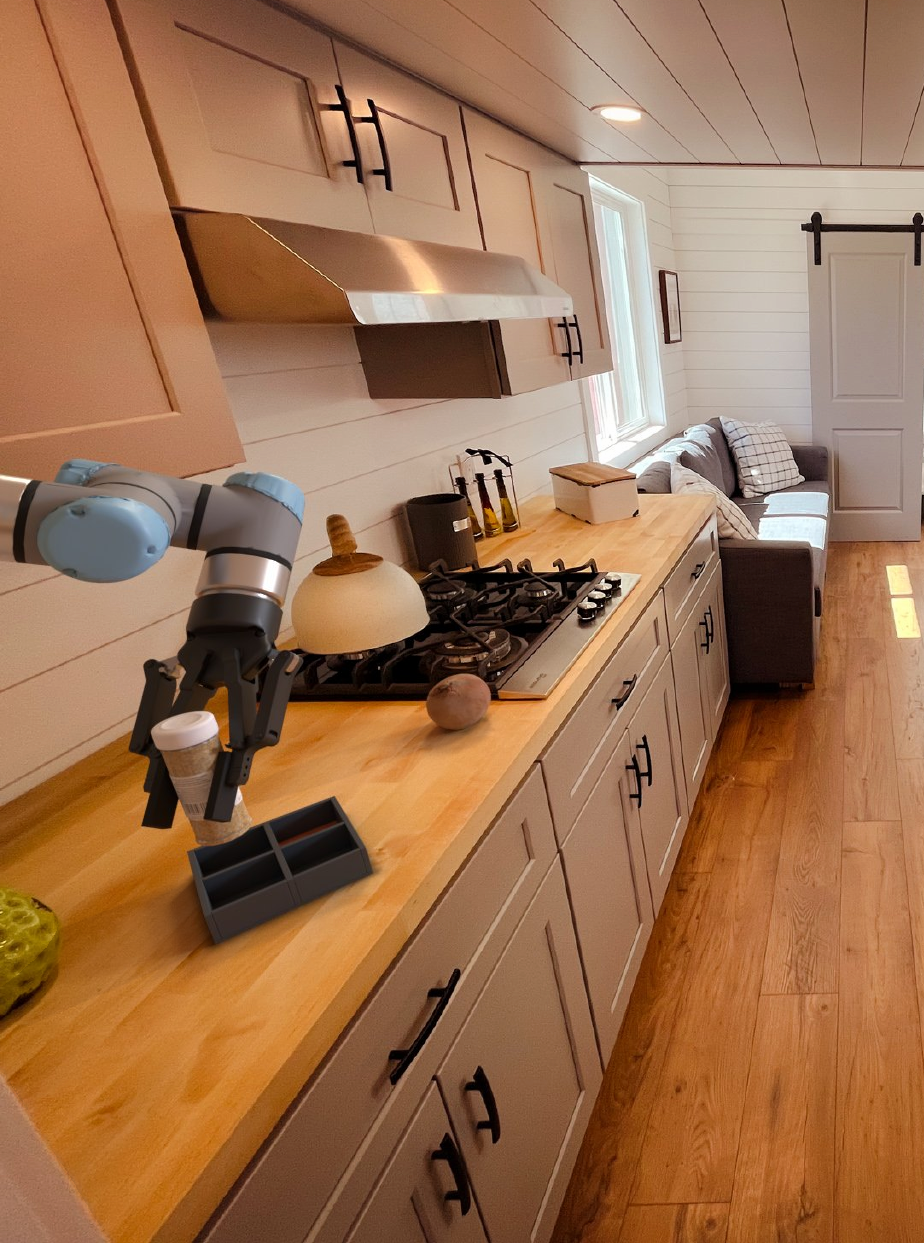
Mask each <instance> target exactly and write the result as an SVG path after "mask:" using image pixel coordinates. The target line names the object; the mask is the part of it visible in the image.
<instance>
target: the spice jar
mask: <svg viewBox="0 0 924 1243" xmlns="http://www.w3.org/2000/svg"><path fill="white" fill-rule="evenodd" d="M219 730H220V729H219V725H218V723H217V720H216V718H215V715H214V714H213V713H212V712H210V711H205V710H203V711H195V712H188V713H184V714H180V715H176V716H173V717H171V718H168V719H166V720H164V721H162V722H160V723H158V724H157V725H156V726H154V727H153V728H152V730H151V735H152V738H153V740H154V743H155V745H156V747H157V748H158V749H159V750H160V752H161V753H162V755H163V758H164V761H165V763H166V766H167V768H168V771H169V776H170V778H171V780H172V783H173V785H174V788H175V790H176V793H177V795H178V798H179V800H178V801H179V802H180V805H181V808H182V810H183V812H184V814H185V817H186V818H187V820H188V822H189V824H190V827H191V828H192V832H193V833H194V836H195V837H194V838H195V843H196V844H197V845H199V846H214V845H219V844H223V843H226V842H229V841H232V840H234V839H235V838H237V837H239V836H241V835H243V834H244V833H245V832H246V831H247V830H248V829H249V828H250V827H252V825H253V818H252V817H251V816H250V814H249V812H248V810H247V807H246V804H245V802H244V798H243V794H242V791H241V788H240V786H238V791H237V795H236V800H235V805H234V809H233V814H232V818H231V822H225V823H220V822H215V821H209V820H203V818H204V813H205V809H206V805H207V800H208V796H209V792H210V788H211V783H212V779H213V775H214V770H215V766H216V762H217V757H218V753H219V752H222V751H225V750H224V746H223V745H222V741H221V740H220V737H219V735H220V733H219Z"/></svg>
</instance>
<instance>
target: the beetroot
mask: <svg viewBox="0 0 924 1243" xmlns="http://www.w3.org/2000/svg"><path fill="white" fill-rule="evenodd" d="M491 701H492V694H491V690H490V687H489V686H488V684H487V682H485V681H484V680H483V679H481V677H479V676H477V675H475V674H471V673H458V674H453V675H451V676H447V677H446V678H443V679H442V680H440V681H439V682H438V683H437V684H436V685H434V686H433V687H432V689H431V690H430V691H429V693H428V695H427V697H426V701H425V702H426V703H425V708H426V712H427V715H428V717H429V718H430V720H432V722H433V723H434V724H436V725H438V726H439V727H441V728H443V729H447V730H453V731H458V730H465V729H466V728H468V727H470V726H473V725H475V724H476V723H477V722H478V721H480V720H481V719H482V718H483V717H484V716H485V714H486V713H487V711H488V709H489V707H490V704H491Z"/></svg>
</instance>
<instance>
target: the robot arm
mask: <svg viewBox="0 0 924 1243" xmlns="http://www.w3.org/2000/svg"><path fill="white" fill-rule="evenodd" d="M305 506H306V499H305V494H304V493H303V491H302V490H301V488H299V487H298V486H297V484H295V483H294V482H292V481H290V480H288V479H286V478H285V477H282V476H279V475H275V474H272V473H268V472H262V471H258V472H256V473H254V472H250V471H240V472H235V473H233V474H230V476H228V477H227V478H226V480H225V482H224V483H222V485H218V484H214V483H213V484H209V483H203V482H198V481H194V480H189V479H185V478H184V479H183V478H180V477H175V476H171V475H165V474H161V473H156V472H151V471H147V470H142V469H137V468H132V467H129V466H123V465H122V464H121V463H115V462H109V463H108V462H107V463H106V462H103V461H94V460H89V459H84V458H71V459H69V460H67V461H64V463H62V464H61V466H60V468H59V470H58V471H57V473H56V475H55V477H54V480H53V481H44V480H37V479H35V478H29V477H22V476H16V475H11V474H10V475H9V474H4V473H0V562H8V563H16V564H17V563H18V564H28V565H37V566H46V567H51V568H53V570H55V571H57V572H59V573H61V574H63V575H64V576H67V577H70V578H72V579H74V580H78V581H81V582H84V583H85V582H86V583H90V584H114V583H121V582H124V581H127V580H131V579H133V578H136V577H138V576H140V575H142V574H144V573H145V572H146V571H148V570H149V569H150V568H151V567H153V566H155V565H156V564H157V563H159V561H160V560H162V558H164V556H165V553H166V552H167V550H168V549H169V547H172V548H177V549H184V550H186V549H187V550H191V551H201V552H205V555H204V560H203V562H202V566H201V569H200V572H199V576H198V578H197V584H196V587H195V590H194V596H195V597H196V598H195V599H194V600H193V601H192V603H191V607H190V610H189V614H188V616H187V622H186V626H185V634H186V640H185V642H184V643H183V645H182V646H181V647H180V649H178V652H177V653H176V655H173V656H171V657H168V658H165V659H162V660H158V659H155V658H150V659H147V660H146V661H144V663H143V666H142V668H143V673H144V678H145V683H144V687H143V691H142V695H141V699H140V703H139V706H138V710H137V714H136V717H135V721H134V725H133V729H132V734H131V737H130V741H129V745H128V752H130V753H132V754H135V755H139V756H143V757H146V758H148V760H149V763H148V767H147V770H146V773H145V774H146V775H145V778H144V781H143V786H142V788H143V792H144V793H146V794H149V796H148V799H147V802H146V806H145V809H144V813H143V818H142V820H141V825H140V826H141V827H143V828H149V829H157V830H169V829H172V828H173V824H174V820H175V815H176V812H177V808H178V804H179V801H180V800H179V798H178V795H177V793H176V790H175V788H174V785H173V783H172V780H171V778H170V776H169V771H168V768H167V766H166V763H165V761H164V758H163V755H162V753H161V752H160V750H159V749H158V748H157V747H156V745H155V743H154V740H153V738H152V735H151V730H152V728H153V727H154V726H156V725H157V724H158V723H160V722H162V721H164V720H166V719H168V718H171V717H173V716H176V715H180V714H184V713H188V712H195V711H205V708H206V706H207V704H208V702H209V701H210V699H213V698H214V697H215V696H216V694H217V692H218V690H219V689H220V688H223V687H225V688H226V690H227V711H228V737H229V738H228V743H224V747H225V748H227V749H229V750H231V751H229V750H224V751H222V752H219V753H218V757H217V762H216V766H215V770H214V775H213V779H212V783H211V788H210V792H209V796H208V800H207V805H206V809H205V813H204V818H203V820H209V821H215V822H220V823H225V822H231V818H232V814H233V809H234V805H235V800H236V795H237V791H238V786H239V787H241V786H246V785H247V784H248V782H249V780H250V774H251V770H252V765H253V761H254V756H255V755H256V753H257V752H258V751H260V750H263V749H265V748H268V747H269V748H270V747H271V748H273V747H276V746H277V745H278V744H279V742H280V739H281V735H282V731H283V726H284V722H285V717H286V713H287V708H288V705H289V700H290V696H291V690H292V686H293V683H294V678H295V677H296V675H297V673H298V672H299V670H300V668H301V667H302V665H303V663H304V659H303V658H302V657H301V656H300V655H297V654H296V653H294V652H292V651H290V650H288V649H282V650H279V649H278V647H277V646H276V641H277V639H278V637H279V633H280V630H281V625H282V621H283V620H282V619H283V614H284V612H283V609H282V607H284V606H285V604H286V599H287V596H288V595H287V594H288V590H289V585H290V581H291V575H292V570H293V567H294V562H295V558H296V553H297V549H298V546H299V541H300V537H301V532H302V528H303V525H304V522H303V519H304V512H305ZM267 666H268V670H267V672H266V676H265V679H264V683H263V686H262V691H261V696H260V700H259V703H258V704H259V705H257V693H258V692H259V689H260V688H259V673H261V672H262V671H263V670H264V669H265V668H266V667H267ZM182 669H183V670H184V671H185V673H184V675H183V677H182V674H181V670H182ZM181 677H182V679H181V681H180V683H179V684H178V683H177V682H178V681H177V680H179V679H180V678H181ZM177 684H178V685H177ZM177 686H178V689H179V692H178V694H177V697H176V692H177ZM175 697H176V698H175ZM257 706H258V707H257ZM257 708H258V709H257Z"/></svg>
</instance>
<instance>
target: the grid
mask: <svg viewBox="0 0 924 1243" xmlns="http://www.w3.org/2000/svg"><path fill="white" fill-rule="evenodd" d="M341 805H342V804H340V802H339V800H338V798H337V797H336V795H333V796H329V797H328V798H325V799H322V800H319V801H317V802H314V803H312V804H309V805H306V806H304V807H301V808H298V809H295V810H292V811H290V812H288V813H285V814H281V815H280V816H276V817H275V818H272V819H269V820H266V821H264V822H262V823H258V824H256V825H253V826H251V827H250V828H249V829H248V830H247V831H246V832H245V833H244V834H243V835H241V836H239V837H237V838H235V839H234V840H232V841H229V842H226V843H223V844H219V845H214V846H202V845H199V846H197V847H195V848H193V849H189V850H187V851H186V854H187V857H188V862H189V865H190V868H191V869H190V870H191V873H192V877H193V881H194V885H195V889H196V892H197V895H198V899H199V902H200V906H201V910H202V914H203V918H204V920H205V923H206V925H207V928H208V930H209V933H210V935H211V938H212V940H213V942H214V945H216V946H217V945H218V944H221V943H223V942H226V941H227V940H229V939H232V938H233V937H236V936H238V935H240V934H243V933H245V932H247V931H250V930H252V929H254V928H256V927H258V926H261V925H262V924H265V923H267V922H269V921H272V920H273V919H276V918H279V917H280V916H282V915H284V914H287V913H289V912H292V911H294V910H296V909H298V908H300V907H302V906H304V905H306V904H308V903H311V902H313V901H315V900H318V899H320V898H322V897H324V896H326V895H328V894H331V893H334V892H335V891H337V890H339V889H341V888H344V887H346V886H349V885H350V884H353V883H355V882H357V881H359V880H362V879H363V878H365V877H368V876H370V875H372V874H374V870H373V867H372V863H371V860H370V857H369V853H368V850H367V847H366V845H365V843H364V842H363V840H362V839H361V837H360V836H359V834H358V832H357V830H356V828H355V827H354V825H353V824H352V822H351V820H350V819H349V816H348V815H347V813H346V812H345V809H344V808H343V806H341Z"/></svg>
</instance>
